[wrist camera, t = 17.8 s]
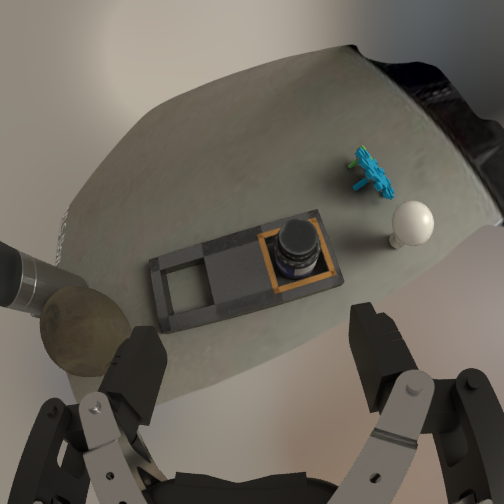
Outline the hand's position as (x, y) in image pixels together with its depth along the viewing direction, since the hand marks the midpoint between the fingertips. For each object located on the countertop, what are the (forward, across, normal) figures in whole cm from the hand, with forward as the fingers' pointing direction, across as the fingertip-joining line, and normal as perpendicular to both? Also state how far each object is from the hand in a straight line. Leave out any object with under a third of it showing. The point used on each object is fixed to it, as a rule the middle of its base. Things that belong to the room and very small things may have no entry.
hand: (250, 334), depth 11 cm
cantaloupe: (+23, +28, +20) cm, 42 cm away
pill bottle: (+30, -4, +14) cm, 33 cm away
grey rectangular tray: (+29, +4, +15) cm, 33 cm away
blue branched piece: (+39, -20, +5) cm, 44 cm away
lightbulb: (+30, -21, +13) cm, 39 cm away
